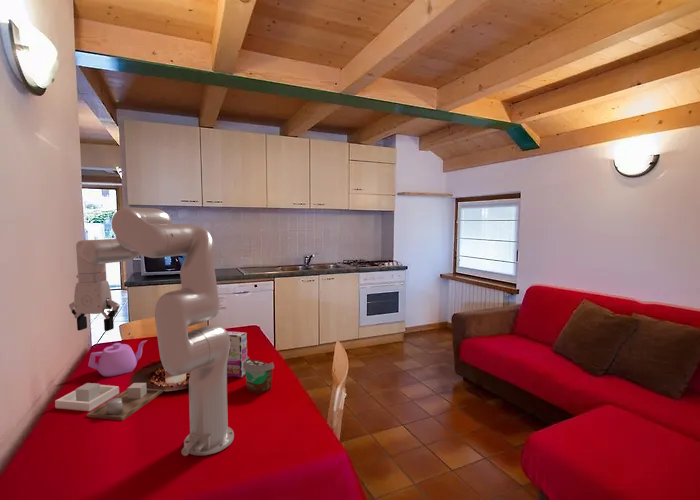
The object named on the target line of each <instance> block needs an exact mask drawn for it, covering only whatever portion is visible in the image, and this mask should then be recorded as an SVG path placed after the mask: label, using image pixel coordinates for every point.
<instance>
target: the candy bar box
mask: <svg viewBox="0 0 700 500" xmlns="http://www.w3.org/2000/svg"><path fill="white" fill-rule="evenodd" d="M226 331H227V332H228V334H229V337H230V351H229V356H228V362H227V377H231V378H239V379H241V378H243V377H245V376H246V373H245V369H244V368H243V364H244V361H245V359H246V358H247V357H248V335H247V334H248V333H247V332H242V331H241V332H240V331H231V330H229V331H228V330H226Z"/></svg>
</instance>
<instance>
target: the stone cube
mask: <svg viewBox="0 0 700 500" xmlns="http://www.w3.org/2000/svg"><path fill="white" fill-rule="evenodd" d="M100 385H101V384H100V383H95V382H93V383H91V382H86V383H84V384H83V385H81V386H79V387H77V388H75V390H76V401H85V402H90V401H91V400H93V399H95V398H97V397H98V396H100Z"/></svg>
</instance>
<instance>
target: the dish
mask: <svg viewBox="0 0 700 500" xmlns="http://www.w3.org/2000/svg"><path fill="white" fill-rule="evenodd" d="M119 394H120V387H119V385H118V386H117V385H109V384H107V385H106V384H100V396H98V397H97V398H95V399H93V400H91V401H90V402H85V401H76V389H75V390H72V391H71V392H69V393H67V394H65V395H64V396H61V397H60V398H58V399H55V400H54V403H55V404H54V407H55V409H59V410H60V409H61V410H69V411H70V410H72V411H84V412H91V411H93V410H95V409H96V408H98V407H100V406H101V405H103V404H104V403H106V402H107V401H109V400H111V399H113V398H114V397H116V396H118V395H119Z"/></svg>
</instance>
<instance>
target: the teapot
mask: <svg viewBox="0 0 700 500" xmlns="http://www.w3.org/2000/svg"><path fill="white" fill-rule="evenodd" d="M147 341H148V340H147V339H146V340H145V339H144V340H142V341H141V342H140V343H139V344H138V347H137V348H138V349H137V351H136V352H134V351H133V349H132V347H131V346H130V345H129V344H126V343H121V342H115V343H112V345H110V346H106V347H104V349H103V350H102V351H96V352H95V351H93V352H91V353H90V356H89V361H88V364H87V366H88V367H90V368H92V369H93V370H97V371H98V373H99V374H100V375H101V376H102V377H105V378H106V377H116V376H120V375H124V374H128V373H132V372H133V371H134V370H135V368H136V367H137V363H138V361H139V360H140V359H141V357H142V354H143V347H144V344H145V343H146V342H147ZM96 357H99V359H98V362H96Z"/></svg>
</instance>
